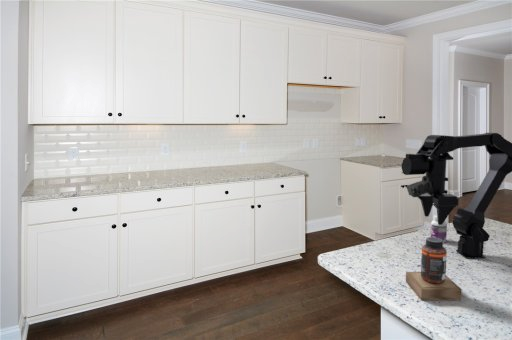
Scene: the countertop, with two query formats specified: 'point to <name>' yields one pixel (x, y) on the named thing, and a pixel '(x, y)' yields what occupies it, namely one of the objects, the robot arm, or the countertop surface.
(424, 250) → the supplement bottle
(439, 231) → the pill bottle
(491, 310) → the countertop surface
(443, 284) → the walnut plinth
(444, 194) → the robot arm
